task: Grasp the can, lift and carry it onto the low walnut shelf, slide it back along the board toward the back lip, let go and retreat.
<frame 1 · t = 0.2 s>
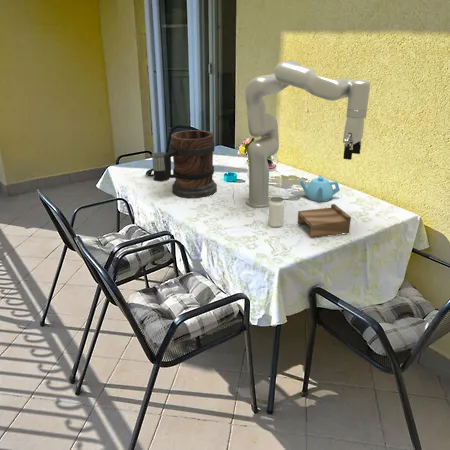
hand: (351, 156, 175), 31 cm above the table, tool pointing down, fingers open, 9 cm apart
teapot: (318, 197, 219), on the table
milk frother: (157, 177, 251), on the table
shelf: (322, 228, 185), on the table
wooden tankard: (190, 192, 228), on the table
can: (275, 224, 189), on the table
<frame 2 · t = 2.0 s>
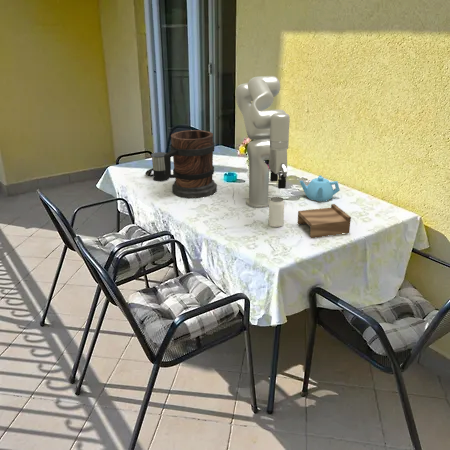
hand: (277, 184, 181), 19 cm above the table, tool pointing down, fingers open, 9 cm apart
nothing on the table moved.
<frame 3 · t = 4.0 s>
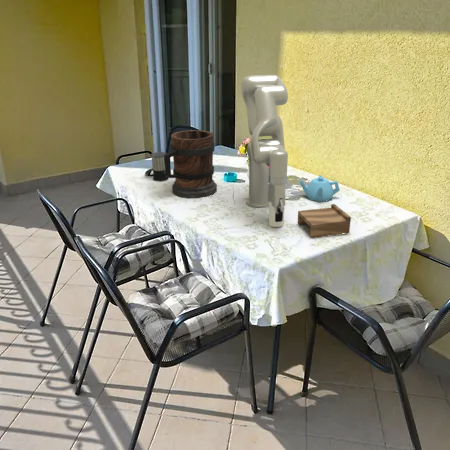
hand: (276, 217, 188), 3 cm above the table, tool pointing down, fingers closed on can, 6 cm apart
can: (275, 224, 189), on the table, touching gripper
everything else where it was.
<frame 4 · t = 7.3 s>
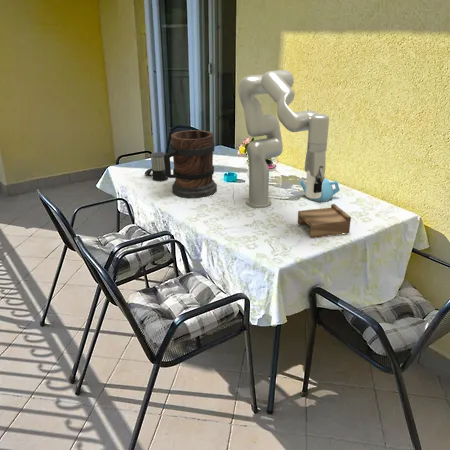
hand: (313, 189, 176), 18 cm above the table, tool pointing down, fingers closed on can, 6 cm apart
can: (313, 196, 177), point 15 cm above the table, touching gripper
everything else where it was.
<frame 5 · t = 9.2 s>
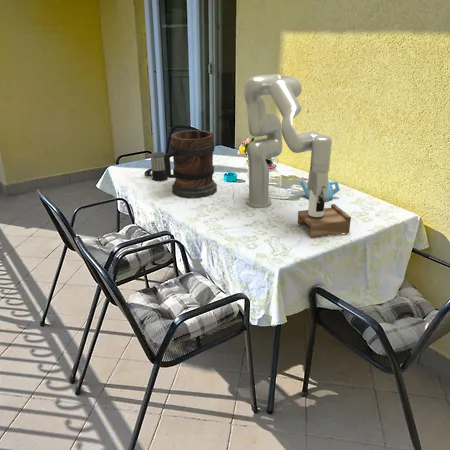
hand: (316, 207, 180), 10 cm above the table, tool pointing down, fingers closed on can, 6 cm apart
can: (315, 215, 181), point 7 cm above the table, touching gripper
everything else where it was.
when the fingers open (10 cm above the table, at t = 10.9 s): can stays where it is, resting on shelf.
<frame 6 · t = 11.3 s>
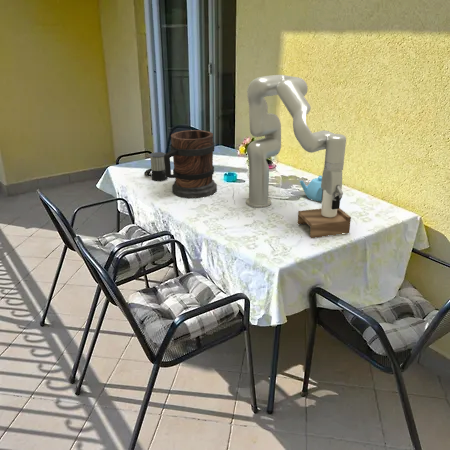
hand: (330, 204, 181), 11 cm above the table, tool pointing down, fingers open, 9 cm apart
can: (328, 215, 183), point 6 cm above the table, touching shelf
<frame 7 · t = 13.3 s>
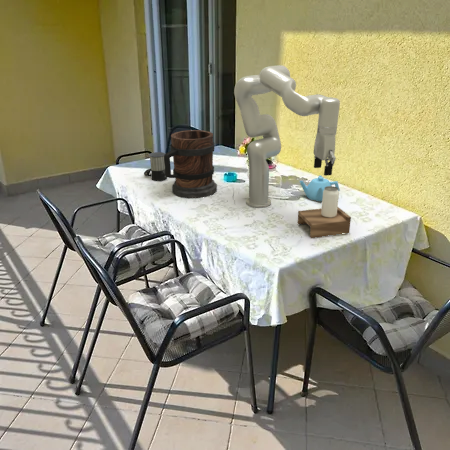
hand: (322, 171, 177), 25 cm above the table, tool pointing down, fingers open, 9 cm apart
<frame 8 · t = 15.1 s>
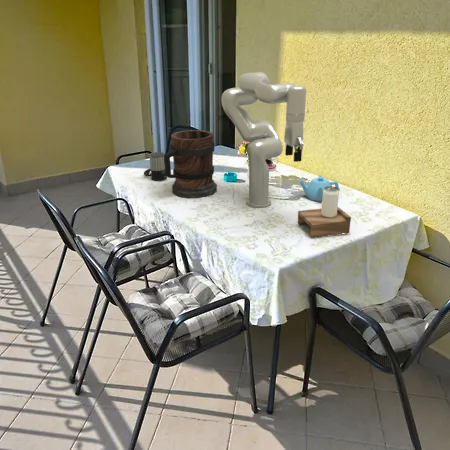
hand: (293, 158, 182), 28 cm above the table, tool pointing down, fingers open, 9 cm apart
at the end: can inside the target area on the shelf (0.4 cm from its centre), point 5.8 cm above the shelf's base; can tilted 0°; the gripper is holding nothing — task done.
